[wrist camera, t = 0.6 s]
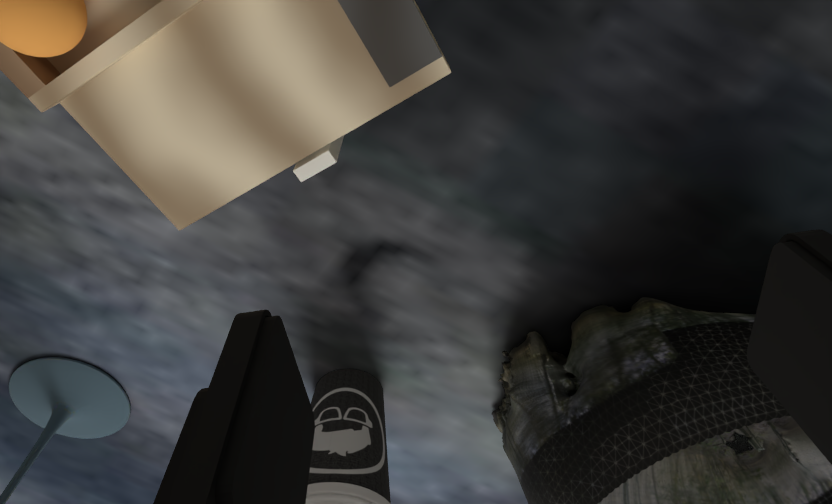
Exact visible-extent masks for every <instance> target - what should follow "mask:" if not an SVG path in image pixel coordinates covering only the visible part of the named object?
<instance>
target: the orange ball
mask: <svg viewBox="0 0 832 504" xmlns="http://www.w3.org/2000/svg"><path fill="white" fill-rule="evenodd" d="M86 27H87V10H86V6H85V3H84V0H0V42H1V43H3V44H4V45H6V46H7V47H9V48H11V49H13V50H15V51H17V52H20V53H22V54H25V55H30V56H35V57H53V56H58V55H61V54H64V53H66V52H68V51H70V50H71V49H73V48H74V47H75V46H76V45H77V44H78V43H79V42H80V41H81V39H82V37H83V35H84V33H85V30H86Z"/></svg>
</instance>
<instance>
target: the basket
mask: <svg viewBox="0 0 832 504" xmlns="http://www.w3.org/2000/svg"><path fill="white" fill-rule="evenodd" d="M631 308H632V309H631V311H629V312H626V313H622V312H618V311H616V310H615V309H614V307H613V306H610V307H607V306H606V305H600V306H597V307H594V308H592V309H589V310H587V311H584V312H582V313H581V315H580V316H579V317H578V318H577V319H576V320H575V321H573V323H572V325H571V330H572V332H571V338H570V339H571V340H572V345H571V349H570V352H569V355H568V358H567V359H566V357H565V356H564V355H562V354H559V353H557V352H551V351H549V350H548V347H547V343H546V341H545V340H544V338H543V337H542V336H541V335H540V334H539V333H537V332H535V331H534V332H530V333H529V334H527V338H526V340H525V341H524V342H523V343H522V344H520V346H519V347H516V348H513V349H512V351H511V352H510V353H508V352H507V351H503V352H502V353H503V355H504V356H507V357H508V358H509V359H510V362H509V363H507V362H504V363H502V364H503V366H504V367H503V368H504V370H505V372H504V373H503V374H501V376H502V378H501V379H499V382H503V384H502V385H503V386H504V387H503V388H504V389H505V394H506V398H503V399H502V405H501V406H499V408H500V409H499V410H494V411H493V412H492V415H493V417H494V419H493V420H494V422H495V424H496V426H497V427H498V429H499V430H500V432H502V433H503V435H502V436H503V437H502V439H503V443H504V445H503V448H504V451H505V452H506V454H507V456H508V458H509V460H510V461H511V463H512V465H513V468H514V470H515V472H516V474H517V476H518V479H519V482H520V484H521V486H522V489H523V491H524V494H525V496H526V499H527V501H528V504H832V465H831V463H830V462H829V461H828V460H827V459H826V457H825V456H824V455H823V454H822V453H821V451H820V450H819V449H818V448H817V447H816V446H815V444H814V443H813V442H812V441H811V440H810V438H809V437H808V436H807V435H806V434H805V432H804V431H803V430H802V429H801V428H800V426H799V425H798V424H797V423H796V422H795V420H794V419H793V418H792V417H791V416H790V414H789V413H788V412H787V411H786V410H785V408H784V407H783V406H782V405H781V404H780V402H779V401H778V400H777V399H776V398H775V396H774V395H773V394H772V393H771V392H770V390H769V389H768V388H767V387H766V386H765V384H764V383H763V382H762V381H761V380H760V379H759V377H758V376H757V375H756V374H755V373H754V371H753V370H752V369H751V367H750V365H749V363H748V359H747V348H748V344H749V340H750V336H751V332H752V328H753V324H754V320H755V315H756V314H742V313H715V312H703V311H696V310H690V309H685V308H682V307H678V306H675V305H672V304H670V303H667V302H664V301H661V300H658V299H654V298H648V297H642V298H640V299H639V301H638V302H636V303H635V304H634V305H632V307H631ZM735 433H739V434H741V435H745V436H746V437H747V438H749V440H748V442H749V443H750V444H751V445H752V446H753V447H754V448H753V450H749V451H745V452H742V453H741V454H735V450H733V449H732V448H730V447H728V446H727V445H725V444H726V443H725V442H728V441H729V442H733V441H735V436H733V435H734V434H735ZM723 443H724V444H723Z"/></svg>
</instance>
